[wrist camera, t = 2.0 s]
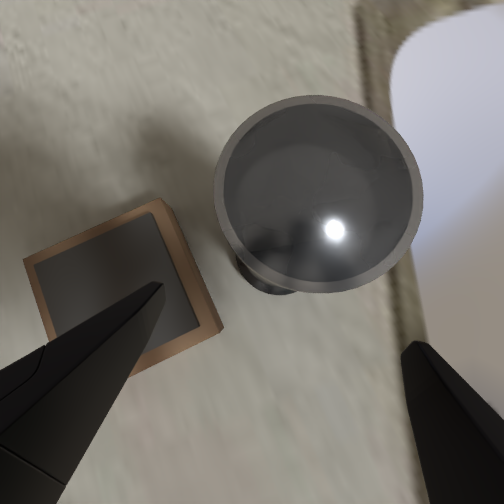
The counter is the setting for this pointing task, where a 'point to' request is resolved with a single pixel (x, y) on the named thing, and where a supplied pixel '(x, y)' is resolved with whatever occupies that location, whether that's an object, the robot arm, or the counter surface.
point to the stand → (126, 279)
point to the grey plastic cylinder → (317, 196)
